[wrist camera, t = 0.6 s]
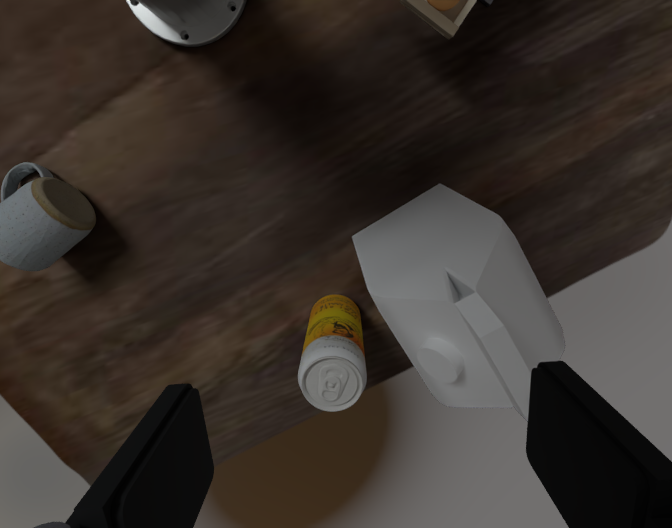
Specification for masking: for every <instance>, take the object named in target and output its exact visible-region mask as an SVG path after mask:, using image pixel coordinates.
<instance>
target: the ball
mask: <svg viewBox="0 0 672 528" xmlns="http://www.w3.org/2000/svg"><path fill="white" fill-rule="evenodd" d="M459 1H460V0H427V2H428V3H429V4H430V5H431V6H433V7H434V8H435V9H436V10H438V11H446V10H449V9H451V8H453V7H454V6H455V5H456V4H457V3H458V2H459Z"/></svg>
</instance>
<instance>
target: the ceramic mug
mask: <svg viewBox="0 0 672 528" xmlns="http://www.w3.org/2000/svg"><path fill="white" fill-rule="evenodd" d="M36 170H37V171H38V172H39V174H40V176H41V178H38V179H35V180H33V181H31V182H29V183H27V184H25V185H24V186H22V187H21V188H20V189H18V190H17V188H18V184H19V183H20V181H21V180H22V179H23V178H24V177H25V176H27V175H29V174H30V173H33V172H35V171H36ZM1 201H2V202H1V203H0V260H1V261H2V262H4V263H5V264H7V265H10V266H12V267H15V268H18V269H21V270H25V271H40V270H43V269H46V268H48V267H49V266H51V265H52V264H53V263H54V262H55V261H56V260H58V259H59V258H60V257H61V256H63V255H64V254H65V253H66V252H68V251H69V250H70V249H71V248H72V247H73V246H74V245H76V244H77V243H78V242H79V241H81V240H82V239H83V238H85V237H86V236H87V235H88V234H89V233H90V231H91V230H92V229H93V227H94V226H95V224H96V215H95V211H94V209H93V207H92V205H91V204H90V202H89V201H88V200H87V199H86V197H85V196H84V195H82V194H81V193H80V192H79V191H78V190H77V189H75V188H74V187H73V186H71V185H69V184H68V183H66V182H64V181H61V180H59V179H56V178H54V177H53V175H52V174H51V173H50V172H49V170H48V169H46V168H44V167H42V166H40V165H37V164H34V163H25V162H24V163H21V164H19V165H17V166H15V167H14V168H12V169H11V170H10V171H9V172H8V174H7V175H6V176H5V178H4V180H3V183H2V188H1Z"/></svg>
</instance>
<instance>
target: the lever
mask: <svg viewBox="0 0 672 528" xmlns="http://www.w3.org/2000/svg"><path fill="white" fill-rule="evenodd" d="M476 1H477V0H460V1H459V2H458V3H457V4H456V5H455V6H454V7H453V8H451V9H449V10H446V11H438V10H436V9H435V8H434V7H433V6H431V5H430V4H429V3H428V2H427V0H400V3H401V4H402V5H404V6H405V7H406V8H408V9H409V10H410V11H412V12H413V13H414V14H416V15H417V16H418V17H419V18H421V19H422V20H423V21H425V22H426V23H427V24H429V25H430V26H431V27H433V28H434V29H435V30H436V31H438V32H439V33H440V34H442V35H443V36H444V37H446V38H447V39H448V40H449V39H450V38H452V37H453V36H454V34H455V33H456V32H457V30H458V29H459V26H460V25H461V23H462V22H463V20H464V19H465V17H466V16H467V14H468V13H469V11H470V10H471V8H472V7H473V5H474V4H475V2H476Z"/></svg>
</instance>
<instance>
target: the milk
mask: <svg viewBox="0 0 672 528" xmlns="http://www.w3.org/2000/svg"><path fill="white" fill-rule="evenodd" d="M352 239H353V243H354V246H355V249H356V253H357V256H358V259H359V262H360V266H361V269H362V272H363V276H364V279H365V282H366V286H367V289H368V291H369V293H370V295H371V297H372V299H373V301H374V302H375V304H376V306H377V308H378V310H379V312H380V313H381V315H382V317H383V318H384V320H385V321H386V323H387V324H388V326H389V328H390V329H391V331H392V332H393V334H394V335H395V337H396V339H397V340H398V342H399V343H400V345H401V347H402V348H403V350H404V351H405V353H406V354H407V356H408V358H409V359H410V361H411V362H412V364H413V365H414V367H415V369H416V370H417V372H418V373H419V375H420V376H421V378H422V379H423V381H424V383H425V384H426V386H427V387H428V389H429V391H430V392H431V394H432V395H433V396H434V397H435V398H436V399H437V401H438V402H440V403H441V404H443V405H444V406H448V407H454V408H512V407H514V408H515V409H516V410H517V411H518V412H519V413H520V414H521V415H522V416H523V418H524V419H525V420H526V421H527V422H528V412H529V397H530V382H531V371H532V369H533V368H537V365H538V363H540V362H549V361H559V359H560V357H561V356H562V354H563V352H564V348H565V341H564V336H563V331H562V327H561V325H560V323H559V322H558V320H557V318H556V316H555V314H554V312H553V310H552V308H551V306H550V304H549V302H548V300H547V298H546V296H545V294H544V292H543V290H542V288H541V286H540V284H539V282H538V280H537V278H536V276H535V274H534V272H533V271H532V269H531V267H530V265H529V263H528V261H527V259H526V257H525V255H524V253H523V251H522V249H521V247H520V245H519V243H518V241H517V239H516V237H515V236H514V234H513V233H512V231H511V230H510V229H509V227H508V226H507V225H506V223H505V222H504V221H503V219H502V218H501V217H500V216H499V215H498V214H496V213H494V212H492V211H490V210H489V209H487V208H485V207H483V206H481V205H479V204H477V203H476V202H474V201H472V200H470V199H468V198H466V197H464V196H463V195H461V194H459V193H457V192H455V191H453V190H451V189H450V188H448V187H446V186H444V185H442V184H440V183H439V184H438V185H436V186H434V187H433V188H431V189H429V190H428V191H426V192H424V193H423V194H421V195H420V196H418V197H416V198H415V199H413V200H411V201H410V202H408V203H406V204H405V205H403V206H401V207H400V208H398V209H396V210H395V211H393V212H391V213H390V214H388V215H386V216H385V217H383V218H381V219H380V220H378V221H376V222H375V223H373V224H371V225H370V226H368V227H367V228H365V229H363V230H362V231H360V232H358V233H357V234H355V235H353V236H352Z"/></svg>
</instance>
